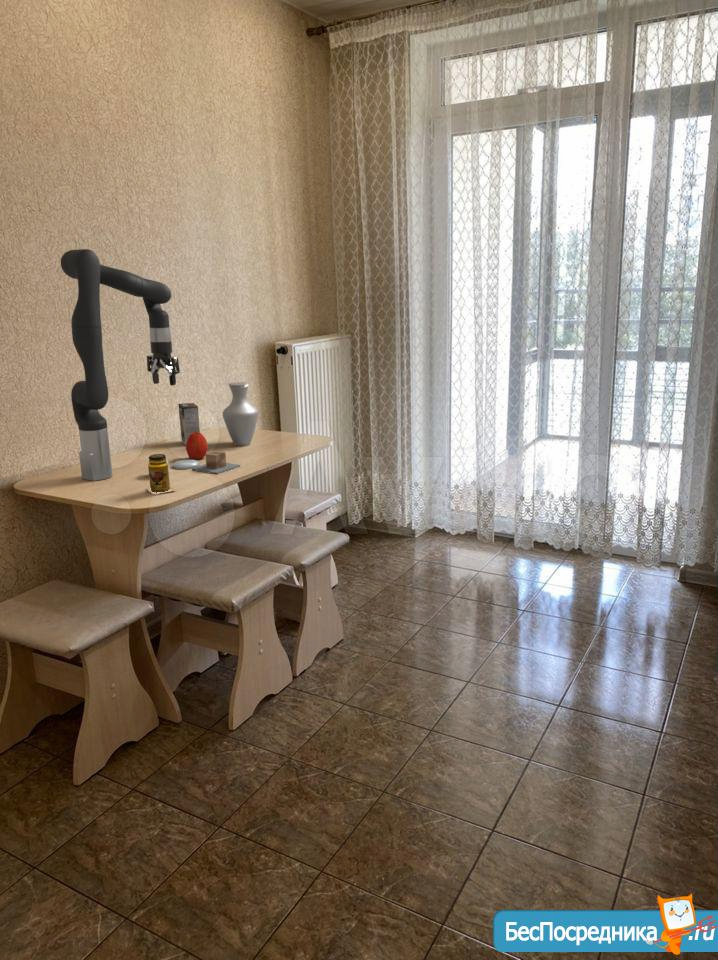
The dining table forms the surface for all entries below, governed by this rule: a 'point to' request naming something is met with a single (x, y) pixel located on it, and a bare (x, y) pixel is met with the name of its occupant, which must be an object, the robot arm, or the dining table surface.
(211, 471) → the slate pad
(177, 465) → the saucer
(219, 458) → the walnut block
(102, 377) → the robot arm
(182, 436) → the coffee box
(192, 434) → the red egg
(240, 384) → the vase
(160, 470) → the condiment
